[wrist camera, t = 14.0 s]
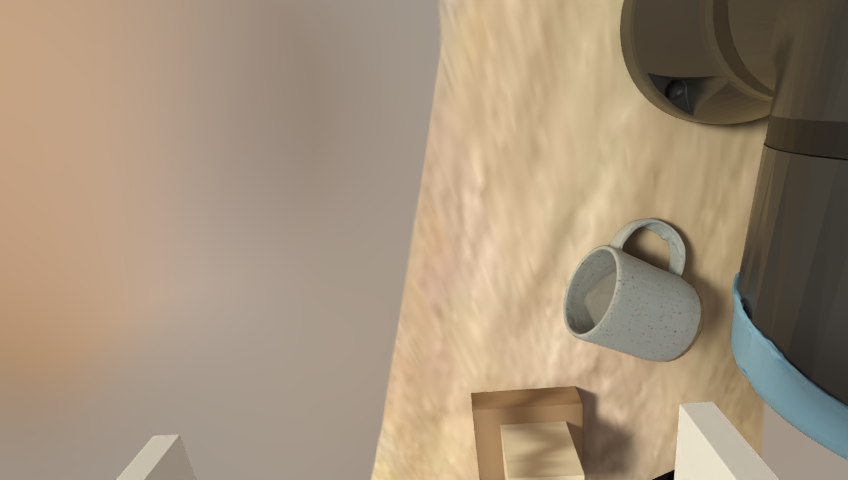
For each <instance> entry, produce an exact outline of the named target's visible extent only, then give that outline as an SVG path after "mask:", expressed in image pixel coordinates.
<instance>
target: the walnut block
mask: <svg viewBox="0 0 848 480" xmlns="http://www.w3.org/2000/svg"><path fill="white" fill-rule="evenodd" d="M471 398H472V411H473V421H474V431H475V440H476V450H477V459H478V469H479V478H480V480H505V473H504V462H503V450H502V438H501V427H500V425H511V424H528V423H545V422H562V421H566V424H567V427H568V429H569V432H570V435H571V438H572V441H573V444H574V447H575V450H576V452H577V455H578V458H579V461H580V464H581V467H582V470H583V404H582V401H581V399H580V397H579V394H578V392H577V390H576V387H575V386H571V387H556V388H541V389H526V390H511V391H496V392H481V393H471Z"/></svg>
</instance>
